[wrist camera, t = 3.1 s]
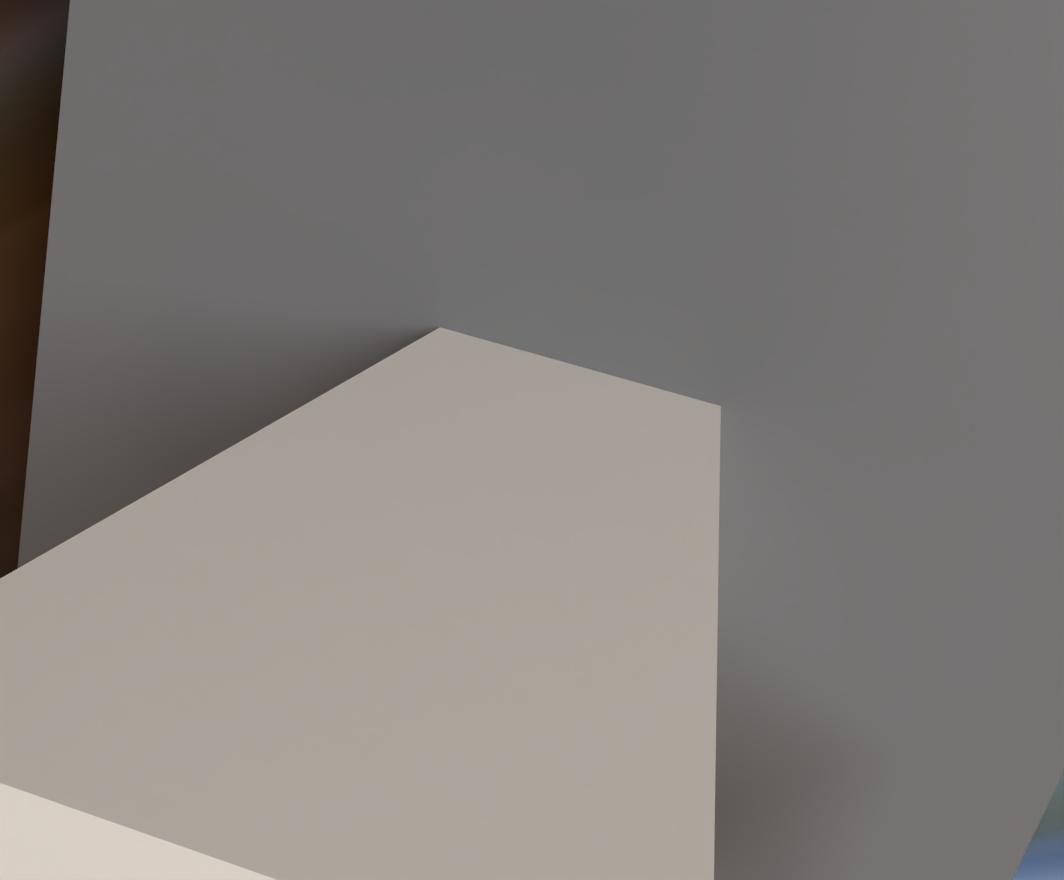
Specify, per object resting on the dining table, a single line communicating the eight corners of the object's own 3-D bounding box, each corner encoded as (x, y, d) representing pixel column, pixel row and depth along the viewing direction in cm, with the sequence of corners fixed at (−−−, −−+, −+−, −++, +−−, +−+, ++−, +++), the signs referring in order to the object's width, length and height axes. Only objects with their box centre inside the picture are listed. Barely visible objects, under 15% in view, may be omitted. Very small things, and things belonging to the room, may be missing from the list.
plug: (503, 290, 16) (-220, 705, 4) (721, 350, 15) (711, 1031, 3) (425, 624, 18) (-234, 1640, 5) (619, 684, 17) (370, 1916, 5)
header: (271, -278, 14) (109, -435, 11) (1276, -61, 13) (1502, -153, 9) (116, 840, 20) (-23, 994, 17) (792, 1077, 19) (808, 1306, 15)
